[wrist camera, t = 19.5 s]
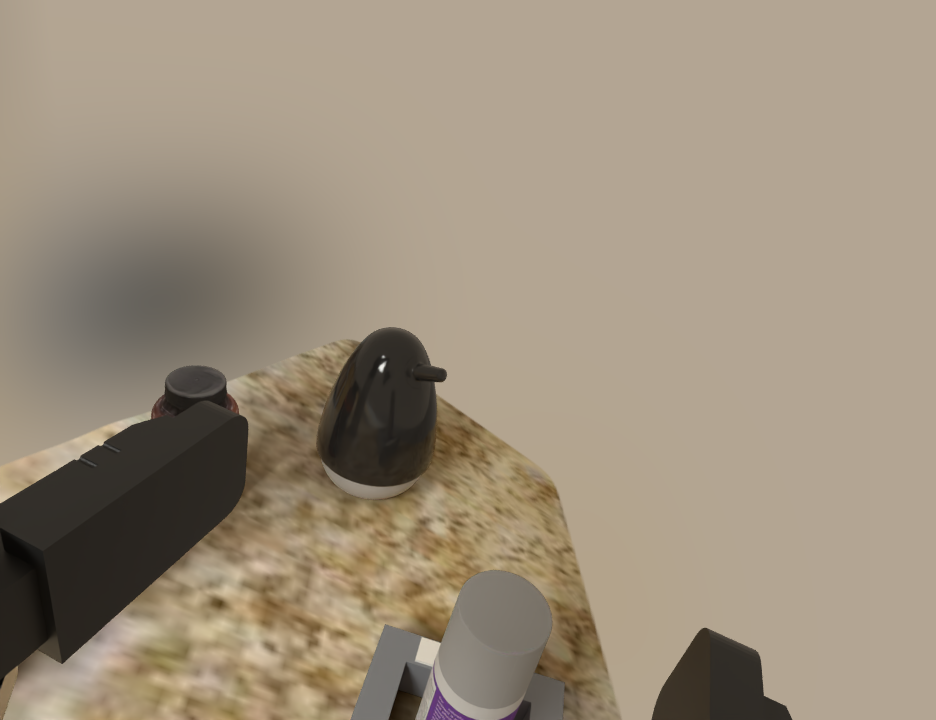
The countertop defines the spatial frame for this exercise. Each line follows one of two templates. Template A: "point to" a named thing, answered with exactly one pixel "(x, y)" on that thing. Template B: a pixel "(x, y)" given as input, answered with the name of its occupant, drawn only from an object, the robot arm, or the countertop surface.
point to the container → (488, 650)
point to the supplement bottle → (193, 391)
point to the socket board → (408, 669)
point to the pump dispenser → (381, 417)
